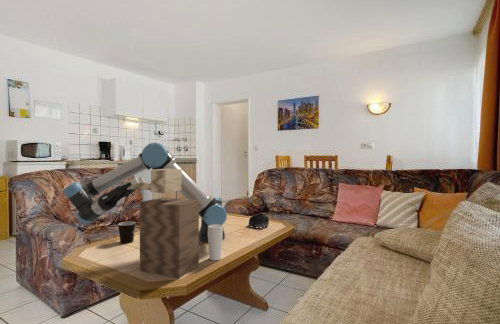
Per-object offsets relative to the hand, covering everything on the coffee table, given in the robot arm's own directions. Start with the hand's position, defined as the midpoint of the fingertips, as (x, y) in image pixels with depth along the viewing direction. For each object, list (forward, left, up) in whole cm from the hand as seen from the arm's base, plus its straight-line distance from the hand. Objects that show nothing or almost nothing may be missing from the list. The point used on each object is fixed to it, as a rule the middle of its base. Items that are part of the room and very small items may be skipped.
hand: (140, 179), depth 120 cm
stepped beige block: (-4, +3, -4) cm, 6 cm away
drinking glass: (-32, +6, -37) cm, 49 cm away
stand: (-12, +10, -36) cm, 39 cm away
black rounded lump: (-72, -43, -37) cm, 91 cm away
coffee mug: (+7, -35, -37) cm, 51 cm away
